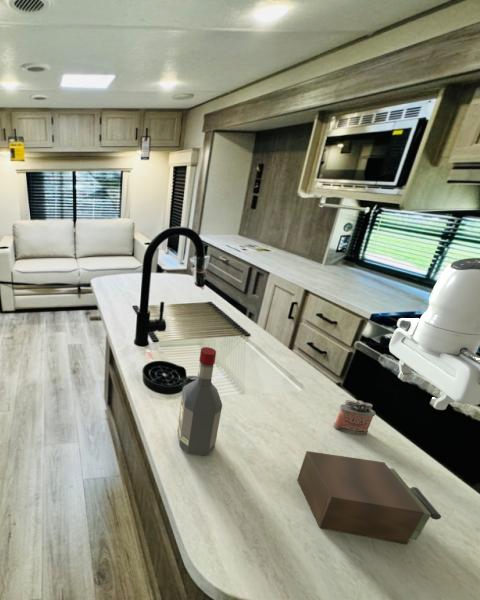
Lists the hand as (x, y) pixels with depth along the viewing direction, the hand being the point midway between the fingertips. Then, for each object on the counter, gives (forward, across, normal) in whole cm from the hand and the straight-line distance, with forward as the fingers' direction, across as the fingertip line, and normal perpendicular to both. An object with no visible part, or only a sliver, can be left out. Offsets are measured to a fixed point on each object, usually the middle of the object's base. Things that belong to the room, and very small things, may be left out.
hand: (419, 392), depth 68 cm
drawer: (+24, -12, +9) cm, 28 cm away
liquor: (+26, +1, +44) cm, 51 cm away
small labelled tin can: (+25, +15, -1) cm, 30 cm away
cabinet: (+25, -12, +13) cm, 31 cm away
